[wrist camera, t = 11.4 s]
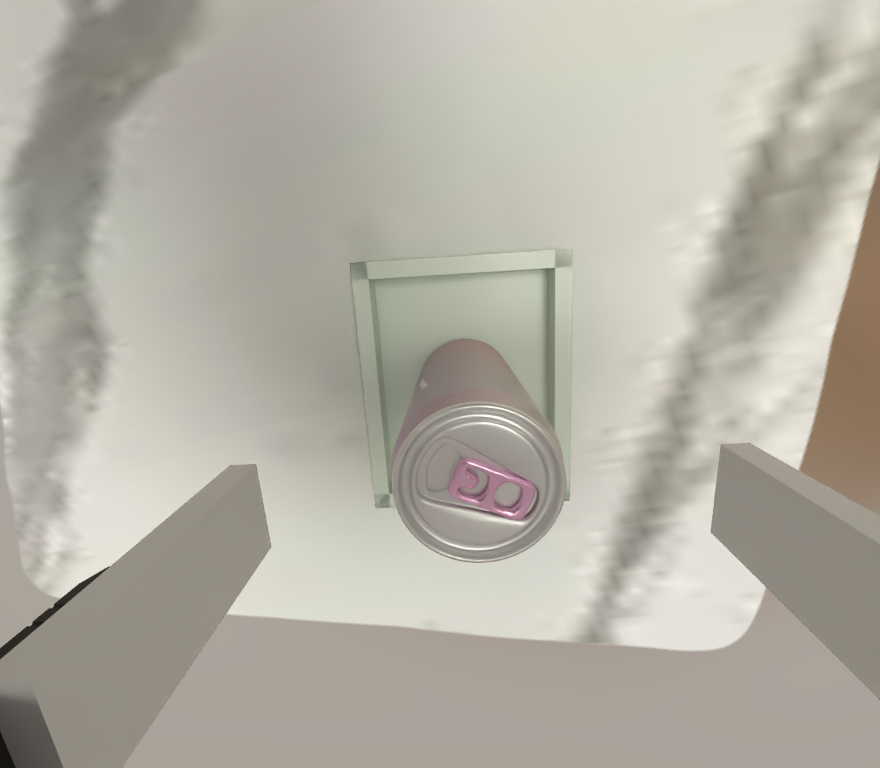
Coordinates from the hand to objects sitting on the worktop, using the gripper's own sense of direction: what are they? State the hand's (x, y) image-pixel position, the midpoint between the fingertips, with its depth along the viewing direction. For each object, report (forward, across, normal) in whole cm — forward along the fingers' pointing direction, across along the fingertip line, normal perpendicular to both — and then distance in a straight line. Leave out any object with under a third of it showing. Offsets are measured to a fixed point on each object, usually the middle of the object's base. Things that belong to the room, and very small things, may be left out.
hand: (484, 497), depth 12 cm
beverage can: (+16, 0, -1) cm, 17 cm away
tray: (+17, 0, -1) cm, 17 cm away
